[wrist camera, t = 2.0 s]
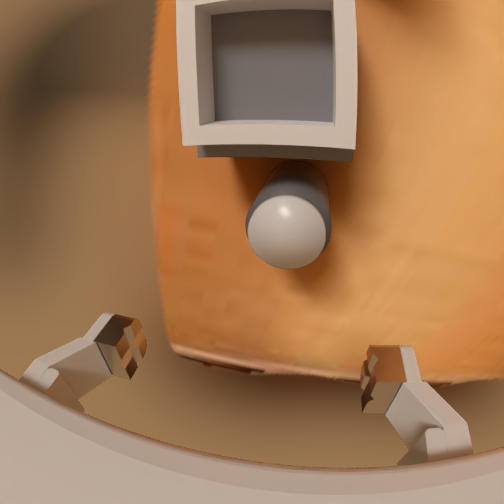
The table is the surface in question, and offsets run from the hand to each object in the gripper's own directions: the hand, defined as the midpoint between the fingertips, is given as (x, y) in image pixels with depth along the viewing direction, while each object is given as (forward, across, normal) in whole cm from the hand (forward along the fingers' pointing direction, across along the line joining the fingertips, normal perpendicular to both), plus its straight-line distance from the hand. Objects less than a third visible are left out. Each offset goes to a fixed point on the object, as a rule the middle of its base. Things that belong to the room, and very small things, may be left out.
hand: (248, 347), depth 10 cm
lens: (+16, -1, 0) cm, 16 cm away
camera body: (+16, 0, -10) cm, 19 cm away
